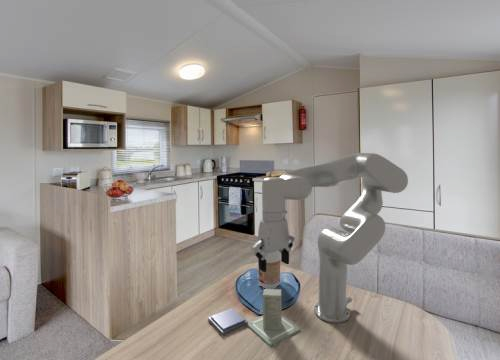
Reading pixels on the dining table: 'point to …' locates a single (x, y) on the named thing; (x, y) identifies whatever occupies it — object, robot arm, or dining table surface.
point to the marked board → (273, 335)
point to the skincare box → (272, 309)
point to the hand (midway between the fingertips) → (274, 266)
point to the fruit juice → (271, 271)
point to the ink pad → (227, 321)
